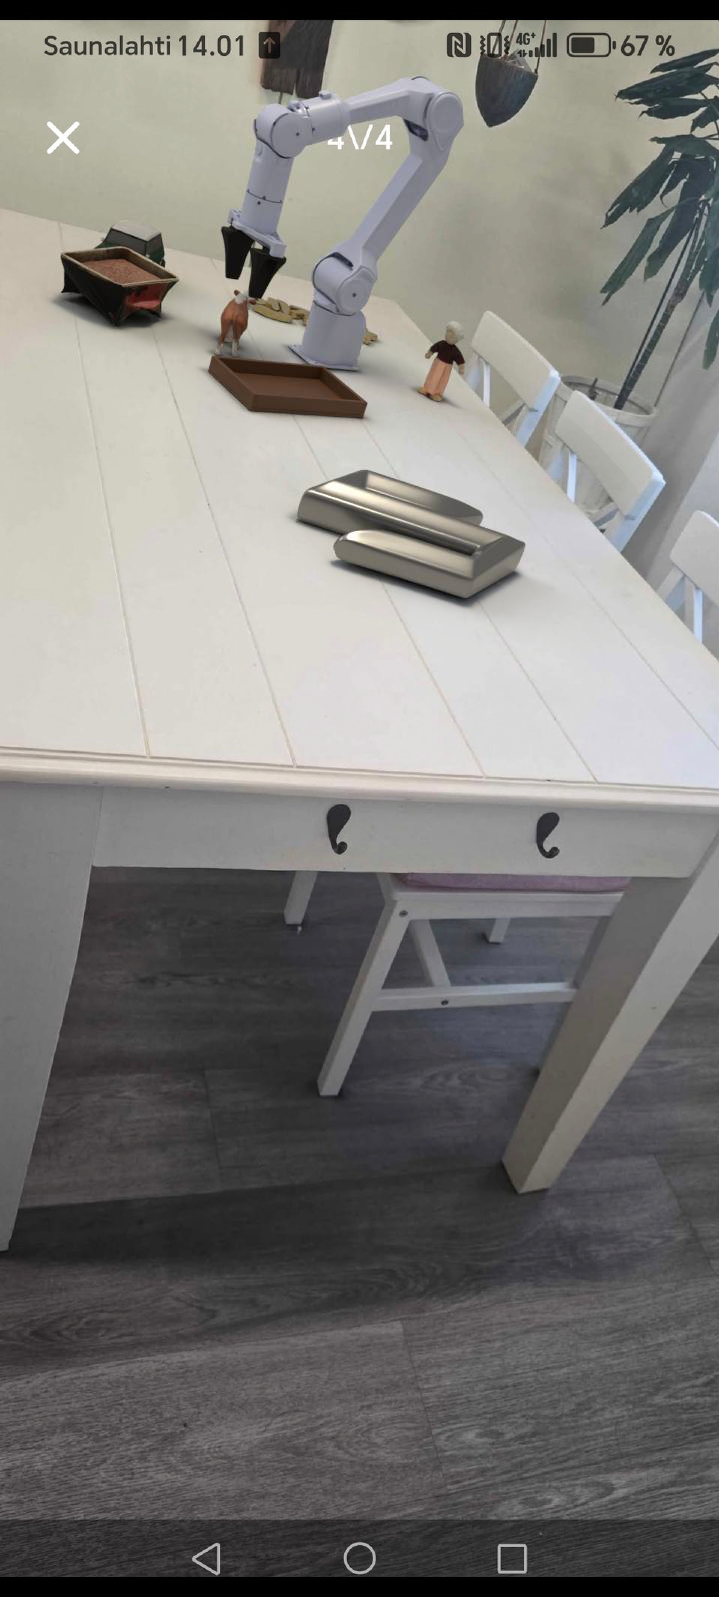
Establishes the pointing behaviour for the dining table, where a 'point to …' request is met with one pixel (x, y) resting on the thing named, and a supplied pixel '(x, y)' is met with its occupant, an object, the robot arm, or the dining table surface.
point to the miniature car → (136, 239)
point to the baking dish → (117, 281)
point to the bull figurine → (235, 320)
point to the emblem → (410, 532)
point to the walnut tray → (286, 387)
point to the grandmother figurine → (444, 361)
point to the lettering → (291, 313)
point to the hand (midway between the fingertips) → (243, 287)
